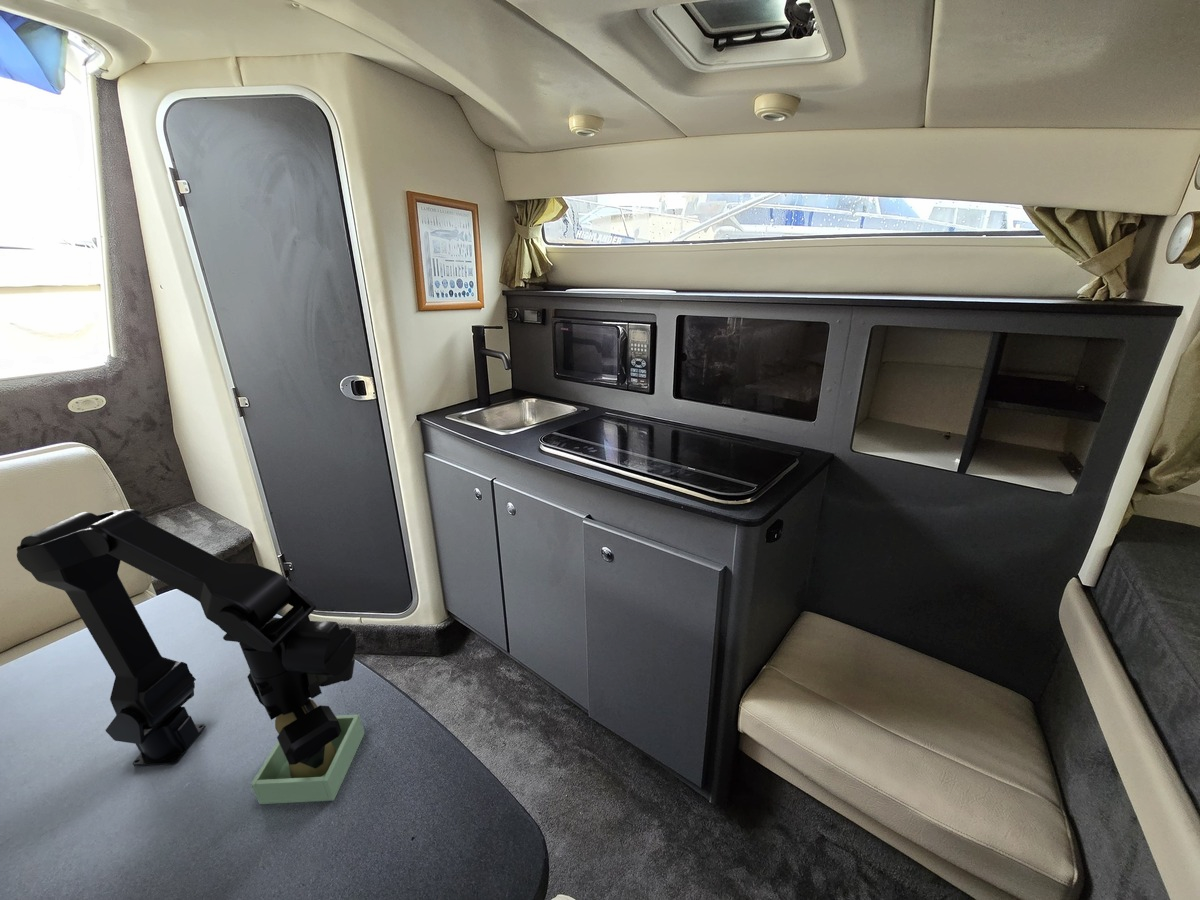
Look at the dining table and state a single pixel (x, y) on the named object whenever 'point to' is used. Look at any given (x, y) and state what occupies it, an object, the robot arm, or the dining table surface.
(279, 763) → the tray
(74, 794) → the dining table surface
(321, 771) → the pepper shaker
